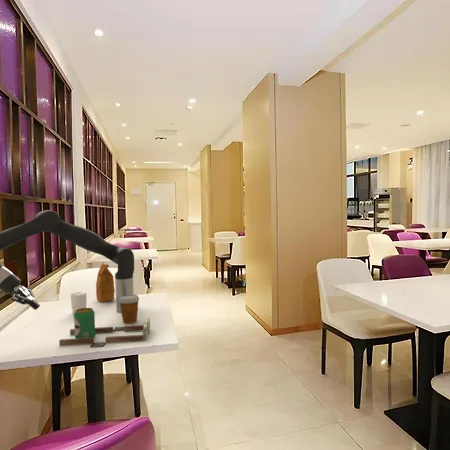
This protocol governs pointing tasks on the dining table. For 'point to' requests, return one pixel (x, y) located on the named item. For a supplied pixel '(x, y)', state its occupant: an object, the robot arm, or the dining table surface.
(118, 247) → the robot arm
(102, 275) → the coffee package
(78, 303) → the white cup
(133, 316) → the disposable coffee cup
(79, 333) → the beverage can
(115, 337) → the walnut track
